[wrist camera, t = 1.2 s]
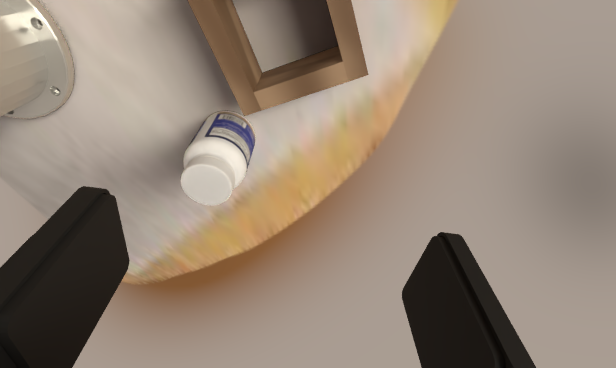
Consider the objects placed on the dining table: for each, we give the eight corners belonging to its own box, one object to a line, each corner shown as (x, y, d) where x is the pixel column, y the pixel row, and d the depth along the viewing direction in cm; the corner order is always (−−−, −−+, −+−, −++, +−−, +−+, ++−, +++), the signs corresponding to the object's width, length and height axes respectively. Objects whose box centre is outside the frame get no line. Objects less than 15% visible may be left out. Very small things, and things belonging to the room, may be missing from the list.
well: (253, 94, 29) (244, 116, 25) (197, -30, 24) (174, -28, 20) (360, 57, 27) (368, 74, 23) (325, -87, 22) (328, -98, 18)
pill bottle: (225, 164, 34) (201, 221, 27) (192, 125, 31) (155, 175, 24) (266, 143, 32) (253, 196, 25) (235, 99, 30) (210, 145, 22)
